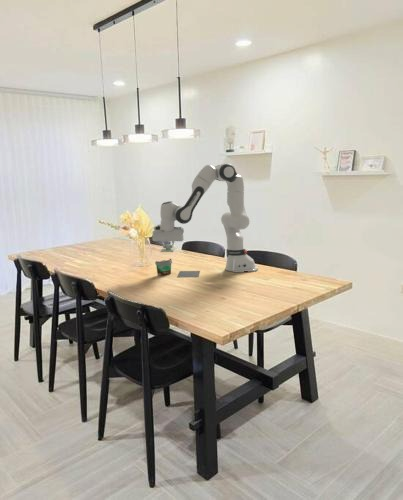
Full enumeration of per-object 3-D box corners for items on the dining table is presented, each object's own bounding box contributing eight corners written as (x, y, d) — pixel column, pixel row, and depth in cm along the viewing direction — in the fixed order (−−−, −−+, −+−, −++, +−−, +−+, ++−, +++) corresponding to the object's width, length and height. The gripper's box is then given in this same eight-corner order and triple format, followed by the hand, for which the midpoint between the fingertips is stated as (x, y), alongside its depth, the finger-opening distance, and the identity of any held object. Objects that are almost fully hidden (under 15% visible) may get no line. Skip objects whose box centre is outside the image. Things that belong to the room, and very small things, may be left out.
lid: (175, 248, 264) (175, 243, 264) (172, 252, 251) (172, 246, 251) (163, 248, 265) (163, 243, 264) (160, 252, 252) (160, 246, 251)
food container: (161, 277, 255) (160, 262, 254) (155, 276, 260) (155, 261, 258) (176, 274, 263) (175, 259, 261) (171, 272, 268) (170, 258, 266)
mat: (200, 271, 269) (200, 270, 269) (198, 277, 252) (198, 277, 252) (179, 271, 270) (179, 271, 270) (176, 278, 253) (176, 277, 253)
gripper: (184, 226, 258) (184, 247, 260) (153, 226, 259) (153, 247, 261) (183, 227, 252) (183, 248, 254) (151, 227, 253) (151, 248, 255)
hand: (168, 248), depth 258 cm, fingers closed on lid, 3 cm apart
